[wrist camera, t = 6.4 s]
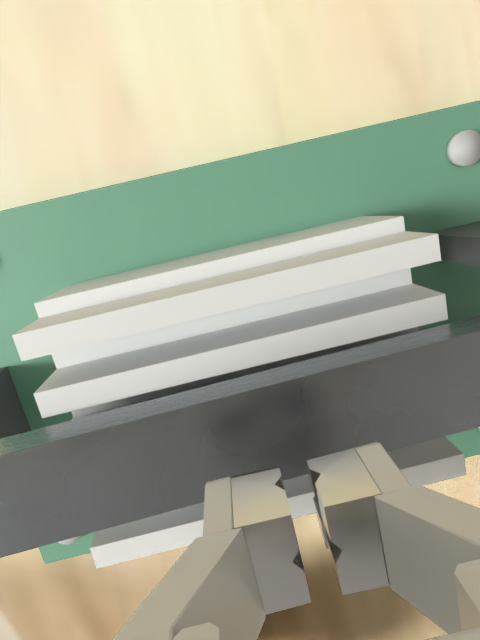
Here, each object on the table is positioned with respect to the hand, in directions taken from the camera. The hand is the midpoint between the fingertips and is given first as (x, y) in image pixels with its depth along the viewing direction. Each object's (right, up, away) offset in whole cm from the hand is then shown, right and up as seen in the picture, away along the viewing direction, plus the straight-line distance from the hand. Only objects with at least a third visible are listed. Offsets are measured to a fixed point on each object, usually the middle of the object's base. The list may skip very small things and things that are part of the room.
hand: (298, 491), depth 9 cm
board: (-1, +2, +9) cm, 9 cm away
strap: (0, +1, +3) cm, 3 cm away
